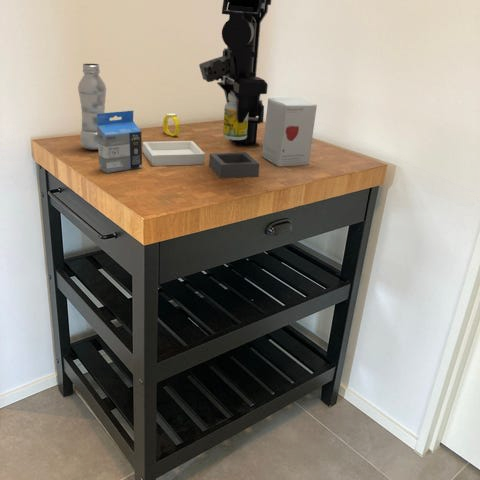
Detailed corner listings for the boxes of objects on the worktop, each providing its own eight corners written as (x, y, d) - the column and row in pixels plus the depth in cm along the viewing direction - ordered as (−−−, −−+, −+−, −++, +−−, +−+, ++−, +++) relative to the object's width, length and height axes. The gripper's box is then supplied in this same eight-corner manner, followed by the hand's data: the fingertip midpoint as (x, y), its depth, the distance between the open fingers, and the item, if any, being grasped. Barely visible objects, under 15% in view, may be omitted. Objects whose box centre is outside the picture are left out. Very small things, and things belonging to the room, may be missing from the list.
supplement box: (278, 167, 126) (284, 104, 120) (261, 156, 133) (266, 97, 127) (310, 165, 130) (318, 104, 123) (291, 154, 137) (298, 96, 131)
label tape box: (106, 174, 113) (104, 117, 108) (98, 168, 116) (95, 113, 111) (142, 168, 118) (142, 113, 113) (133, 163, 121) (133, 110, 116)
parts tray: (192, 150, 134) (192, 140, 133) (204, 164, 124) (205, 153, 123) (142, 151, 130) (142, 141, 129) (152, 166, 120) (152, 155, 119)
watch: (161, 134, 148) (160, 113, 145) (169, 133, 149) (168, 112, 147) (174, 137, 144) (173, 115, 141) (182, 136, 145) (181, 114, 143)
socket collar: (244, 164, 126) (245, 152, 125) (258, 176, 119) (259, 163, 118) (209, 165, 123) (209, 153, 122) (220, 178, 116) (221, 165, 115)
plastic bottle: (75, 149, 127) (69, 64, 119) (91, 143, 133) (87, 61, 124) (98, 154, 125) (94, 67, 117) (113, 147, 131) (111, 64, 123)
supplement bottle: (251, 139, 118) (254, 95, 113) (231, 141, 115) (234, 97, 110) (237, 133, 121) (240, 91, 117) (218, 135, 118) (220, 92, 114)
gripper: (192, 38, 115) (190, 110, 121) (218, 49, 99) (213, 130, 106) (239, 41, 118) (235, 110, 125) (271, 51, 103) (264, 129, 109)
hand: (235, 119), depth 116 cm, fingers closed on supplement bottle, 5 cm apart
